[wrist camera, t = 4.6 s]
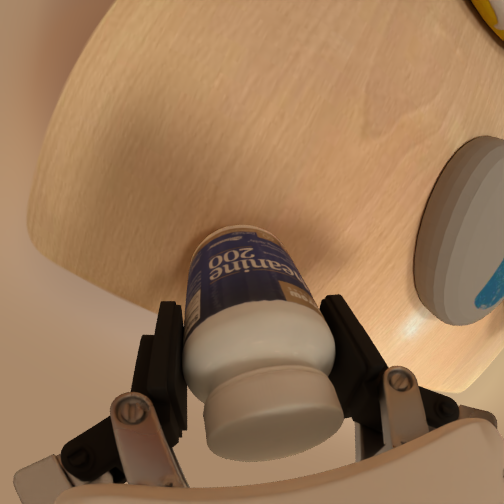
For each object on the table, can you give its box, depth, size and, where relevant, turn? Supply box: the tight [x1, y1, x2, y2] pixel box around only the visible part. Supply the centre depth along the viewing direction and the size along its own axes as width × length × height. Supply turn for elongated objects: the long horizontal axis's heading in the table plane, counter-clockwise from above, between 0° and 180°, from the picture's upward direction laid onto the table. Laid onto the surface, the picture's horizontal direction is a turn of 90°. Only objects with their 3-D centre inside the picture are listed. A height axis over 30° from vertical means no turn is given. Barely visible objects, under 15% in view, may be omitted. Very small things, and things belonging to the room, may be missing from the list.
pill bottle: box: [182, 225, 344, 462], centre depth 11 cm, size 5×5×10 cm
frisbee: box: [414, 136, 504, 326], centre depth 17 cm, size 18×18×5 cm
